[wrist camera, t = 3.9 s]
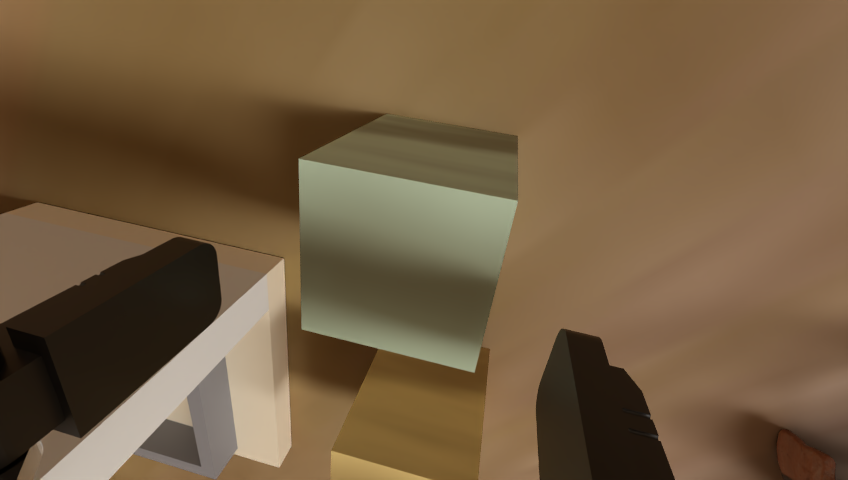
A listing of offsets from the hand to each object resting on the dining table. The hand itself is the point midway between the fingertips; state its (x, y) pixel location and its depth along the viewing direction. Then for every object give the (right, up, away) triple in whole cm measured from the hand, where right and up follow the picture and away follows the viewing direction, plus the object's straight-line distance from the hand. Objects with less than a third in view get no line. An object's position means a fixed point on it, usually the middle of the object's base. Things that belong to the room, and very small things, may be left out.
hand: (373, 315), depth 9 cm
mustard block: (+2, -5, +11) cm, 13 cm away
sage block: (+2, +4, +7) cm, 8 cm away
